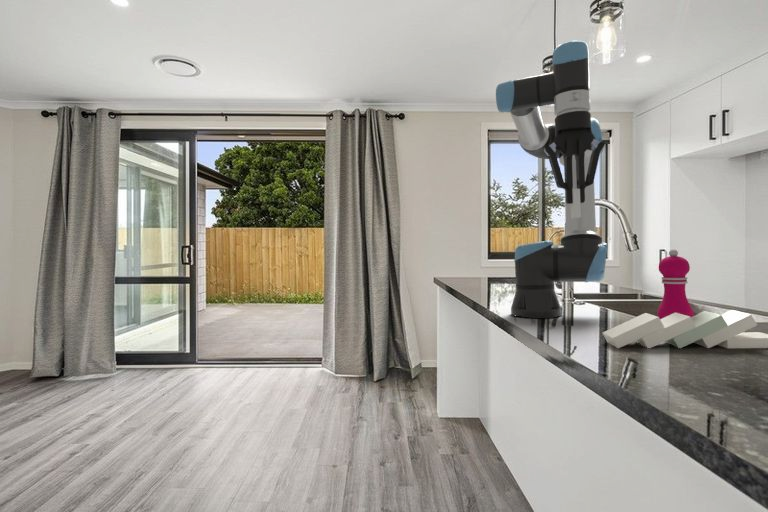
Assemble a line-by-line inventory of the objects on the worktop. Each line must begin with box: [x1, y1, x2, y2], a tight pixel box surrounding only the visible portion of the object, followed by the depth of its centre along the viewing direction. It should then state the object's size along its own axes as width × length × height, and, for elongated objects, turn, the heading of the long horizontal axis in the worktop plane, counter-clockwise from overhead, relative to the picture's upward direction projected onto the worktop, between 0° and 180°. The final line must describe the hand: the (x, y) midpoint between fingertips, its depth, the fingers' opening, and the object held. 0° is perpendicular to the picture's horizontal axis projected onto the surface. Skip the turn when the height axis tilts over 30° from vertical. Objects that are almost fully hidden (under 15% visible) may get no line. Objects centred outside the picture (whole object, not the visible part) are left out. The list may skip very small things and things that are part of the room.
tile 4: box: [693, 309, 758, 349], centre depth 89 cm, size 6×2×10 cm
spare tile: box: [664, 310, 728, 349], centre depth 89 cm, size 6×2×10 cm
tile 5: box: [716, 331, 768, 349], centre depth 88 cm, size 6×2×10 cm
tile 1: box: [602, 312, 664, 349], centre depth 91 cm, size 6×2×10 cm
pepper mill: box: [656, 249, 695, 319], centre depth 100 cm, size 7×7×20 cm
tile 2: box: [635, 312, 696, 349], centre depth 90 cm, size 6×2×10 cm
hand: (575, 217), depth 99 cm, fingers closed
